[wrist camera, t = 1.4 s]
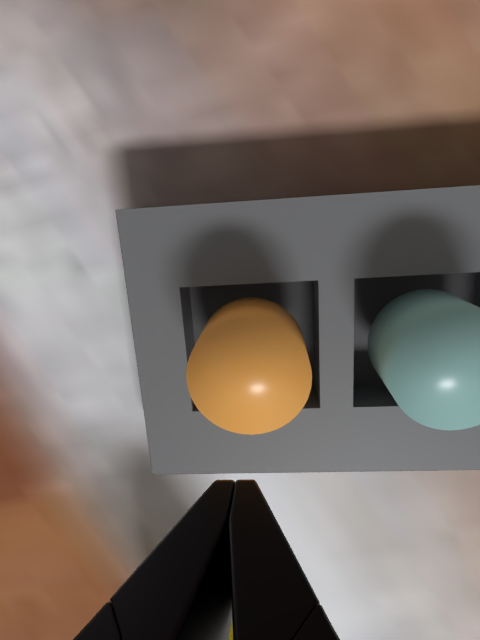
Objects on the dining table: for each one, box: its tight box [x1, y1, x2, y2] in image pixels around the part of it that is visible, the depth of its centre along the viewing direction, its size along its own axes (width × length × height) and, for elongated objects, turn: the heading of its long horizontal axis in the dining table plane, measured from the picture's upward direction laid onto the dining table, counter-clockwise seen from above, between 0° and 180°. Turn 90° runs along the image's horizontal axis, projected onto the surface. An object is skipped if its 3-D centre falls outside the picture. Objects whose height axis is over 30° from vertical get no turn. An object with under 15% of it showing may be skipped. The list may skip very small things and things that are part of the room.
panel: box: [116, 185, 480, 474], centre depth 18 cm, size 24×12×3 cm, turn 94°
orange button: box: [186, 297, 312, 435], centre depth 16 cm, size 4×4×3 cm
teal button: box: [368, 289, 480, 430], centre depth 15 cm, size 4×4×3 cm
